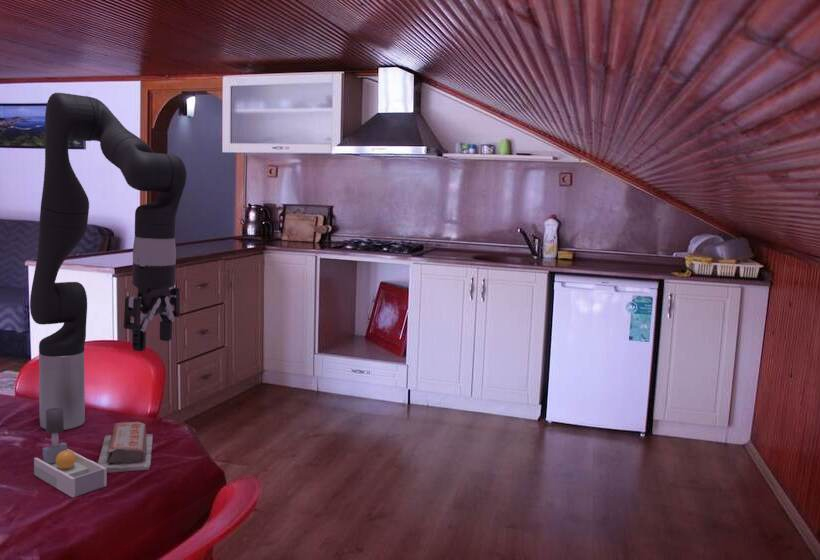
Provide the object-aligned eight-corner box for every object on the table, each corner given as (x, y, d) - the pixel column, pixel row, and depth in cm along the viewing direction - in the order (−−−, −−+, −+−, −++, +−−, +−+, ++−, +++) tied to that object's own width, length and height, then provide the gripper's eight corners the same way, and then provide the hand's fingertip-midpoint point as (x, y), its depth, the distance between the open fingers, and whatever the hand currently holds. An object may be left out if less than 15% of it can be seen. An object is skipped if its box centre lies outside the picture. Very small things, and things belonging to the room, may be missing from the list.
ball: (51, 468, 126) (51, 450, 126) (70, 462, 129) (70, 445, 128) (61, 473, 124) (61, 455, 124) (79, 468, 127) (79, 450, 126)
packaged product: (104, 420, 146) (153, 418, 149) (104, 441, 146) (152, 439, 150) (95, 452, 129) (150, 448, 132) (95, 476, 129) (150, 472, 133)
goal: (56, 488, 122) (56, 470, 122) (90, 477, 128) (90, 460, 127) (72, 497, 119) (72, 479, 119) (106, 485, 125) (106, 468, 124)
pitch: (34, 475, 127) (34, 458, 127) (67, 464, 133) (67, 448, 132) (56, 488, 122) (56, 470, 122) (90, 477, 128) (90, 460, 127)
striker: (40, 461, 128) (40, 411, 127) (61, 455, 131) (61, 406, 130) (48, 466, 126) (47, 414, 125) (69, 459, 130) (69, 409, 128)
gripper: (158, 255, 131) (156, 335, 134) (111, 263, 117) (110, 351, 120) (192, 259, 130) (190, 339, 132) (149, 267, 116) (147, 356, 118)
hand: (152, 345), depth 126 cm, fingers open, 8 cm apart
